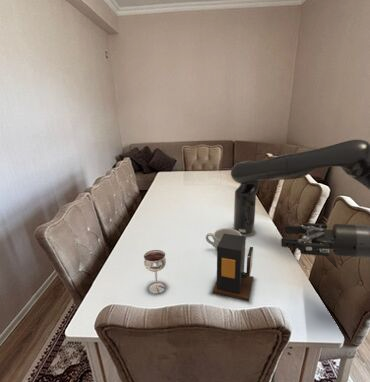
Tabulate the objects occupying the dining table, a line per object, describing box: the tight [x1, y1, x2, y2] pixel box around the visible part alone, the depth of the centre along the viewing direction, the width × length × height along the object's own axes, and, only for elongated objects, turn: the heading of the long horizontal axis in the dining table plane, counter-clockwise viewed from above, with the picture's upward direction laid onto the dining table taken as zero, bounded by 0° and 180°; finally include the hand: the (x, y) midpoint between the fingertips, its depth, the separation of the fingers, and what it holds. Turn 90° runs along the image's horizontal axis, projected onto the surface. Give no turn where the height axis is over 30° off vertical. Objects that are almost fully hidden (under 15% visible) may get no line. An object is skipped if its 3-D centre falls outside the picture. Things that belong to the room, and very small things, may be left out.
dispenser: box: [212, 233, 254, 302], centre depth 78 cm, size 11×11×16 cm
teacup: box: [205, 227, 242, 252], centre depth 100 cm, size 14×11×8 cm
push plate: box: [245, 246, 254, 278], centre depth 76 cm, size 6×1×7 cm, turn 159°
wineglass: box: [143, 249, 167, 294], centre depth 79 cm, size 7×7×12 cm
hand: (283, 235), depth 66 cm, fingers open, 8 cm apart
